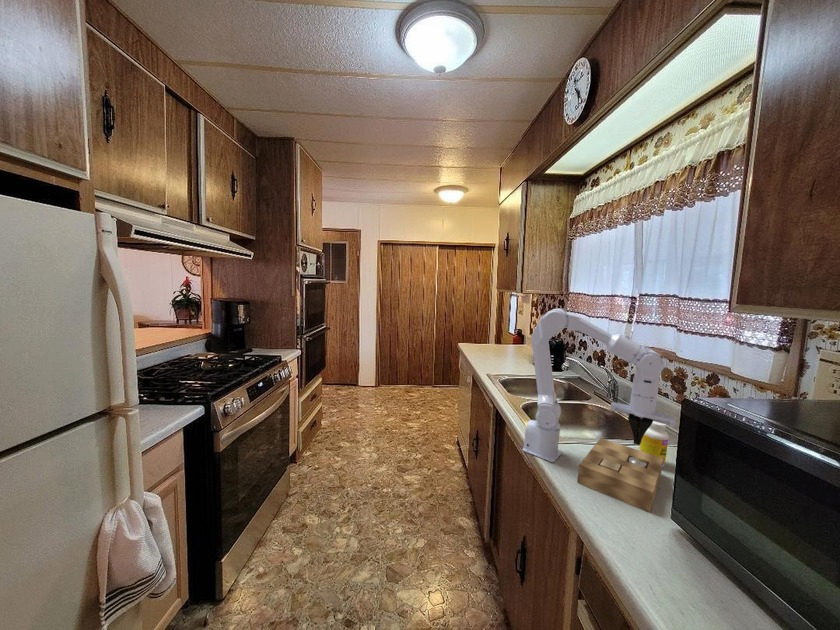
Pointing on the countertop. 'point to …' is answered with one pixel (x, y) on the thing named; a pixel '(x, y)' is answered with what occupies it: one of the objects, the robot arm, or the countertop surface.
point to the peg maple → (610, 465)
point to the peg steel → (637, 461)
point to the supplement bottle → (655, 441)
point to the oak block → (621, 474)
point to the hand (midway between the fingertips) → (637, 443)
